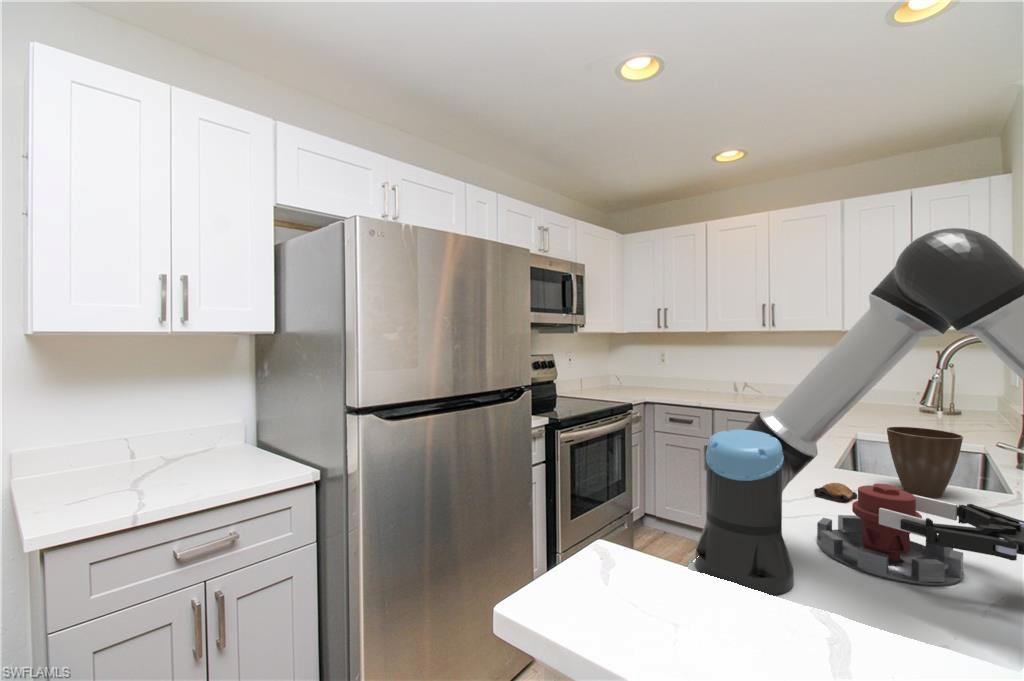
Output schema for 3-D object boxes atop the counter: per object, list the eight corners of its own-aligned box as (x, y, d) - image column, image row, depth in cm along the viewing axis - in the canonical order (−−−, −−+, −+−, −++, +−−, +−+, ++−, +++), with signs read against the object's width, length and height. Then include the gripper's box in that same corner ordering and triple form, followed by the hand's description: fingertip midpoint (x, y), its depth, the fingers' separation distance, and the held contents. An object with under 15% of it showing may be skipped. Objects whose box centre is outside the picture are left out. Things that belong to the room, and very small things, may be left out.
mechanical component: (899, 543, 90) (935, 569, 80) (841, 539, 92) (870, 563, 82) (900, 480, 90) (936, 497, 80) (842, 476, 92) (870, 493, 82)
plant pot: (909, 481, 131) (910, 425, 131) (976, 499, 117) (977, 435, 117) (872, 487, 126) (873, 428, 126) (937, 506, 112) (938, 439, 112)
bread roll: (823, 489, 126) (823, 476, 126) (861, 497, 120) (861, 483, 120) (809, 497, 119) (809, 483, 119) (848, 507, 113) (848, 491, 113)
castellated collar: (801, 553, 87) (802, 534, 87) (834, 523, 101) (834, 507, 101) (956, 601, 71) (956, 577, 71) (969, 558, 85) (969, 538, 85)
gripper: (1056, 606, 60) (865, 544, 79) (1093, 559, 74) (921, 515, 92) (1057, 549, 60) (865, 500, 78) (1093, 511, 74) (922, 477, 92)
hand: (895, 508), depth 85 cm, fingers open, 13 cm apart
